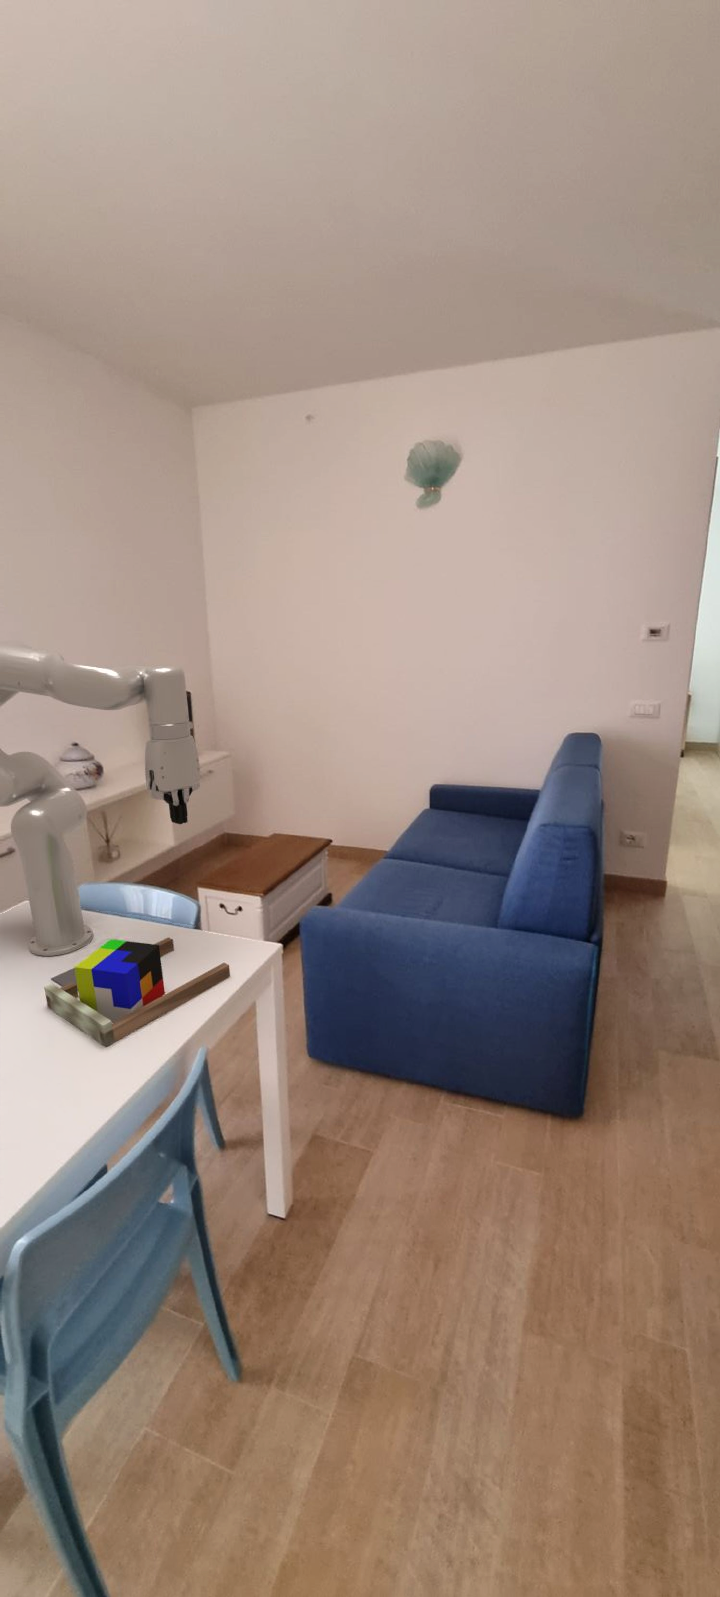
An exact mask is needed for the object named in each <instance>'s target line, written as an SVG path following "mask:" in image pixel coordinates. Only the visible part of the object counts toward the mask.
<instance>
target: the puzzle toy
mask: <svg viewBox="0 0 720 1597" xmlns="http://www.w3.org/2000/svg"><path fill="white" fill-rule="evenodd" d="M161 957H162V956H161ZM161 957H160V949H159V945H156V944H155V943H154V944H153V943H146V942H138V941H137V942H136V941H128V940H122V939H121V940H120V939H119V940H118V939H112V938H111V939H108V941H107V942H105V943H104V944H103V945H102V946H100V947H98V949H96V950H95V951H93V952H92V953H90V954H89V955H88V956H86V958H84V959H83V960H82V961H80V962H79V963H78V964H76V965H75V966H74V967H73V968H75V974H76V980H77V987H78V996H79V997H78V998H79V999H78V1000H79V1001H81V1002H82V1003H84V1004H85V1005H87V1006H89V1007H90V1008H92V1009H93V1010H95V1011H96V1012H98V1013H100V1014H101V1015H103V1016H104V1017H106V1018H107V1019H109V1020H111V1021H112V1023H114V1022H115V1021H117V1020H119V1019H121V1018H123V1017H125V1016H126V1015H128V1014H130V1013H132V1012H134V1011H136V1010H138V1009H139V1008H141V1007H143V1006H145V1005H147V1004H149V1003H150V1002H152V1001H154V1000H156V999H158V998H160V997H161V996H163V995H165V994H166V991H165V983H164V975H163V968H162V965H163V964H162V958H161Z"/></svg>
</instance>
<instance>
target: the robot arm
mask: <svg viewBox="0 0 720 1597" xmlns="http://www.w3.org/2000/svg"><path fill="white" fill-rule="evenodd" d="M20 692H21V693H27V694H33V695H39V696H44V697H45V696H46V697H51V698H52V699H54V700H57V701H58V702H62V703H65V704H67V705H71V706H76V707H77V706H78V707H83V708H89V709H93V710H94V709H95V710H102V711H119V710H122V709H124V708H129V707H132V706H135V705H138V704H142V703H145V704H146V712H147V722H148V730H149V740H146V744H145V751H144V753H145V754H144V775H145V785H146V788H147V789H148V790H150V791H151V792H150V797H151V799H154V800H159V801H160V800H163V801H164V802H165V803H166V804H168V810H169V817H170V821H171V822H172V823H174V824H178V825H183V824H186V823H187V824H188V806H187V803H188V802H189V801H190V800H189V799H190V797H191V795H192V793H193V792H194V791H196V790H197V791H198V790H199V789H200V787H201V784H200V782H201V773H202V772H201V766H200V758H199V754H198V750H197V749H198V748H197V746H196V743H195V742H196V741H195V740H194V736H193V735H191V729H194V727H195V725H194V722H192V721H190V718H189V706H188V698H187V686H186V677H185V672H184V669H183V668H182V667H180V666H179V665H178V666H177V665H157V666H145V665H135V664H127V665H118V666H112V667H107V668H104V667H97V666H96V667H95V666H90V665H89V666H88V665H83V664H76V663H72V662H68V661H65V659H64V657H63V656H62V654H60V653H59V652H56V651H51V650H44V649H38V648H33V647H31V646H30V645H29V644H26V643H24V642H21V641H15V640H10V641H9V640H8V641H0V708H1V707H2V706H3V705H4V704H6V703H7V702H8V701H10V700H11V699H13V698H14V697H15V696H16V695H18V694H19V693H20ZM25 800H28V801H29V802H27V803H26V804H24V805H23V806H21V807H20V808H19V809H18V810H16V812H15V813H14V815H13V816H12V819H11V823H10V832H11V837H12V839H13V841H14V843H15V846H16V849H17V851H18V854H19V857H20V860H21V866H22V869H23V870H22V871H23V876H24V880H25V886H26V891H27V896H28V902H29V908H30V912H31V913H30V914H31V919H32V925H33V930H34V936H32V937H31V938H30V939H29V941H28V949H29V952H30V953H32V954H34V955H37V956H42V957H43V956H44V957H50V956H51V957H52V956H53V957H54V956H59V955H60V956H61V955H63V954H64V955H65V954H68V953H72V952H74V951H77V950H80V949H81V948H83V947H84V946H87V944H88V943H90V942H91V941H92V939H93V937H94V931H93V928H92V927H90V926H88V925H86V924H85V923H84V917H83V913H82V912H83V910H82V906H81V905H82V904H81V899H80V892H79V886H78V878H77V872H76V868H75V863H74V862H75V861H74V858H73V855H72V852H71V851H70V849H69V847H68V846H67V844H66V841H65V838H66V837H67V836H68V835H70V834H72V833H73V832H75V831H76V830H78V829H79V828H80V827H82V825H83V824H84V823H85V821H86V819H87V815H88V808H87V804H86V802H85V800H84V799H83V797H82V795H81V794H80V793H79V792H78V791H77V790H76V789H75V788H74V787H73V786H72V785H71V784H70V783H69V782H68V780H66V778H65V777H64V776H63V774H61V773H60V772H59V770H57V769H56V768H55V767H54V766H53V764H51V763H50V762H49V761H48V760H47V759H46V758H44V757H43V756H41V755H39V754H37V753H34V752H31V751H18V752H15V753H12V754H7V752H5V751H4V750H2V749H1V748H0V808H2V807H3V808H4V807H10V806H12V805H16V804H18V803H19V802H22V801H25Z"/></svg>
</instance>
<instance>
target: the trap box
mask: <svg viewBox="0 0 720 1597" xmlns="http://www.w3.org/2000/svg"><path fill="white" fill-rule="evenodd" d="M154 944H156V945H159V949H160V957H164V956H165V955H167V954H169V953H171V952H173V951H175V946H174V938H172V937H166V938H164V939H162V940H160V941H158V942H156V943H154ZM230 977H231V972H230V964H228V963H227V962H226V963H225V962H223V963H220V964H219V965H216V966H214V967H213V968H211V969H210V970H208V971H205V972H204V973H202V974H201V975H199V976H196V977H195V978H193V979H191V980H189V981H187V982H186V983H183V984H182V985H180V986H178V987H176V988H174V989H173V990H171V991H169V992H167V993H165V994H164V995H163V996H161V997H160V998H158V999H156V1000H154V1001H152V1002H150V1003H149V1004H147V1005H145V1006H143V1007H141V1008H139V1009H138V1010H136V1011H134V1012H132V1013H130V1014H128V1015H126V1016H125V1017H123V1018H121V1019H119V1020H117V1021H115V1022H114V1023H112V1021H111V1020H109V1019H107V1018H106V1017H104V1016H103V1015H101V1014H100V1013H98V1012H96V1011H95V1010H93V1009H92V1008H90V1007H89V1006H87V1005H85V1004H84V1003H82V1002H81V1001H80V999H78V998H79V993H78V990H77V985H76V984H75V983H73V982H72V983H69V984H67V985H65V986H63V987H62V986H61V987H59V986H57V985H56V984H54V983H50V984H48V985H46V986H43V989H44V992H45V998H46V999H45V1000H46V1005H47V1006H46V1007H47V1008H49V1009H50V1010H52V1011H53V1012H55V1013H56V1014H58V1015H59V1016H60V1017H62V1018H63V1019H65V1020H67V1021H68V1022H69V1023H70V1024H72V1025H73V1026H75V1027H76V1028H77V1029H79V1030H81V1031H82V1032H84V1033H85V1034H86V1035H88V1036H89V1037H91V1038H92V1039H93V1040H95V1041H96V1042H98V1044H99V1043H100V1044H101V1045H103V1047H105V1048H107V1047H110V1046H111V1045H113V1044H114V1043H116V1042H118V1041H119V1040H122V1039H123V1038H125V1037H126V1036H128V1035H130V1034H132V1033H134V1032H136V1031H137V1030H140V1029H141V1028H143V1027H144V1026H146V1025H148V1024H150V1023H151V1022H153V1021H155V1020H156V1019H158V1018H160V1017H162V1016H164V1015H165V1014H167V1013H169V1012H171V1011H173V1010H174V1009H176V1008H178V1007H179V1006H181V1005H183V1004H186V1003H187V1002H188V1001H190V1000H192V999H193V998H195V997H197V996H198V995H201V994H202V993H204V992H206V991H207V990H209V989H211V988H213V987H215V986H216V985H218V984H220V983H221V982H223V981H225V980H227V979H229V978H230Z"/></svg>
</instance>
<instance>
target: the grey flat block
mask: <svg viewBox="0 0 720 1597" xmlns="http://www.w3.org/2000/svg"><path fill="white" fill-rule="evenodd" d="M50 979H51V981H53V982H54V983H56V984H58V985H59V986H61V987H63V986H65V985H67V984H69V983H72V982H73V983H75V984H76V985H77V980H76V974H75V968H74V967H73V968H71V969H68V970H67V971H64V972H62V973H59V974H58V975H55V976H53V977H50ZM77 990H78V987H77Z"/></svg>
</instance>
